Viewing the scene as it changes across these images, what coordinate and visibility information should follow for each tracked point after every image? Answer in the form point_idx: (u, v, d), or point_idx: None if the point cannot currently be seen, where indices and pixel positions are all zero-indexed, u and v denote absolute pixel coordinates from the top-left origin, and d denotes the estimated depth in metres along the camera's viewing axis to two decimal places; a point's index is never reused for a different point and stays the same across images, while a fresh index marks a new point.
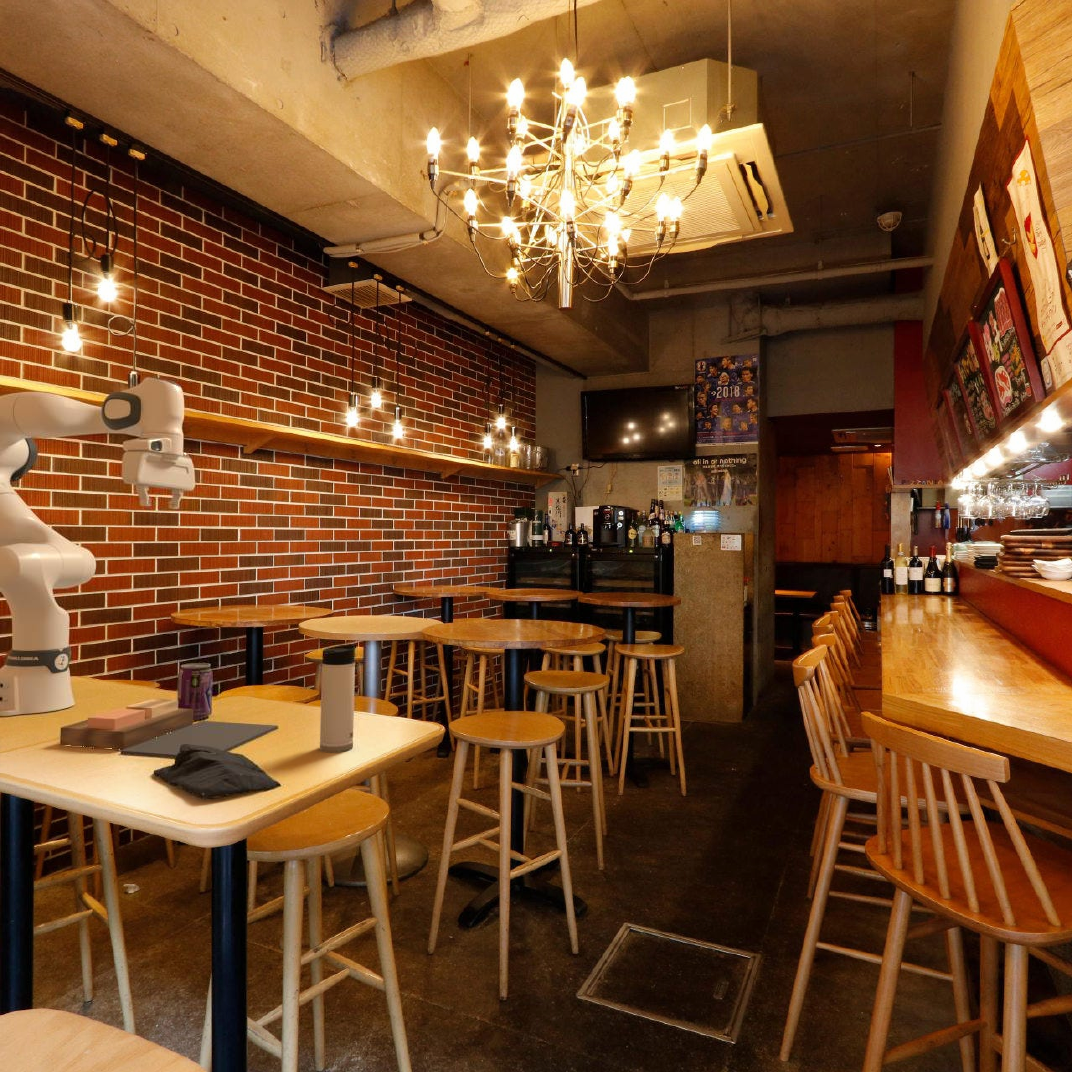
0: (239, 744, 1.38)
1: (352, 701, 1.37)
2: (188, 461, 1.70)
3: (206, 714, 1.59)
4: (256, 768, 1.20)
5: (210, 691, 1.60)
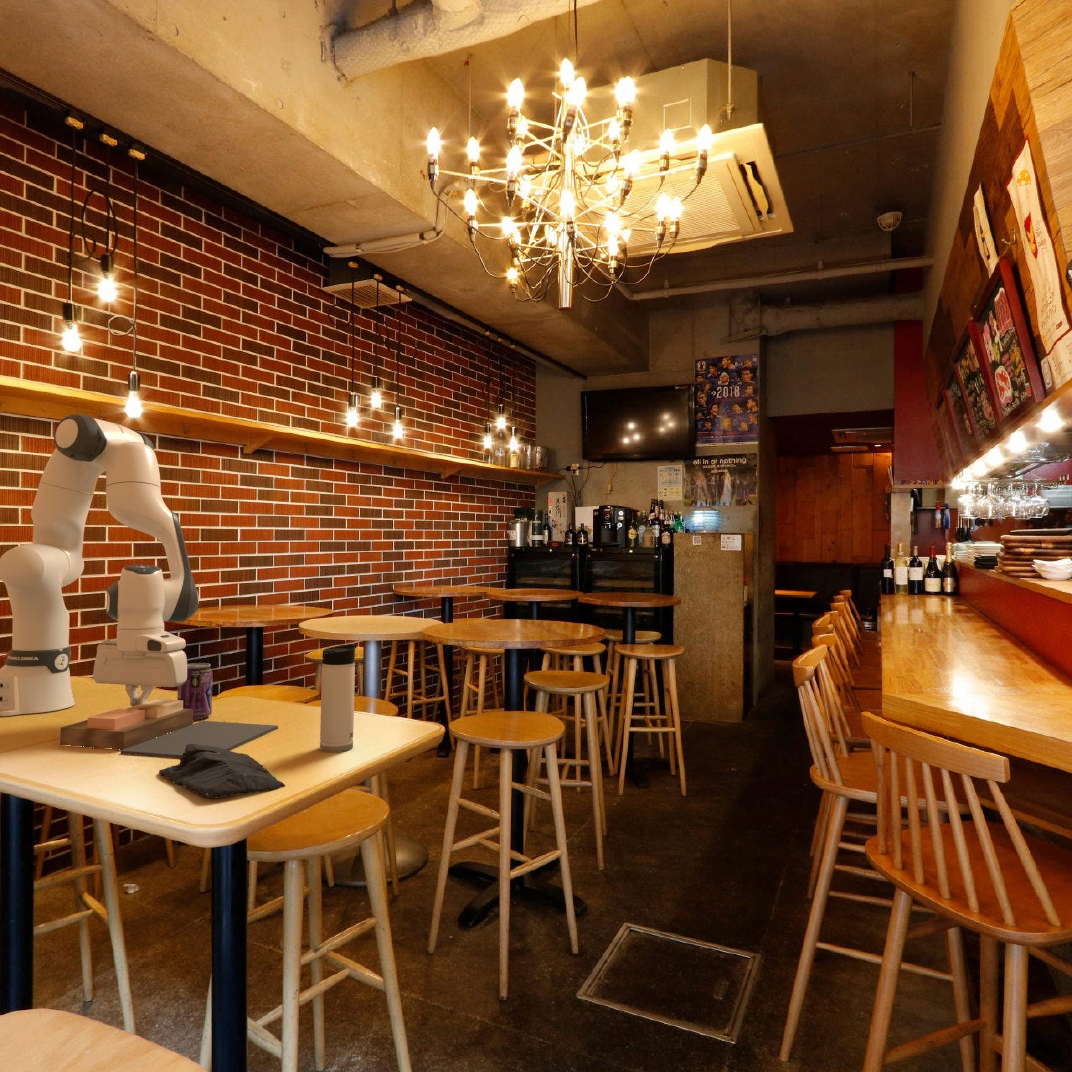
0: (239, 744, 1.38)
1: (352, 701, 1.37)
2: None
3: (206, 714, 1.59)
4: (261, 768, 1.21)
5: (210, 691, 1.60)
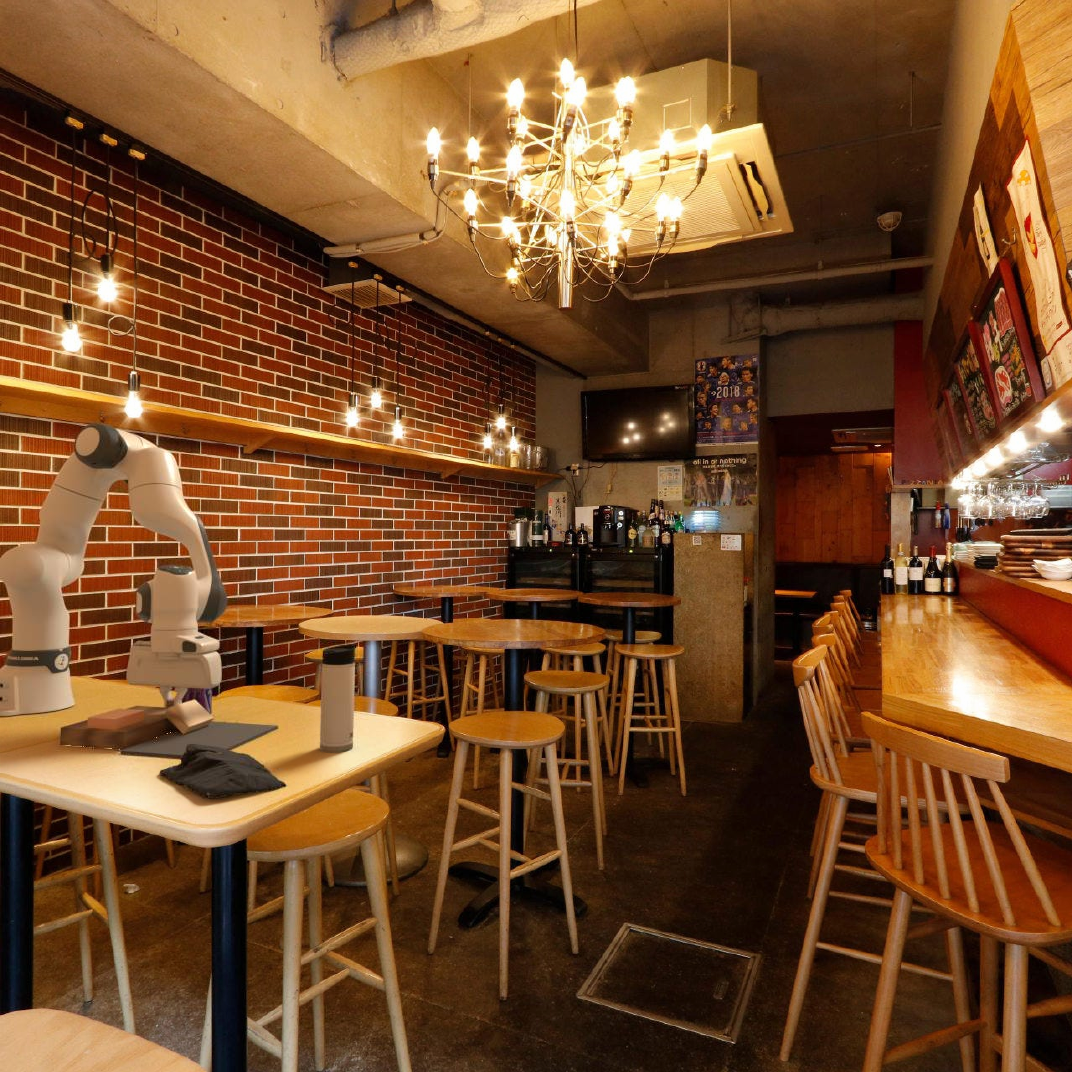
0: (239, 744, 1.38)
1: (352, 701, 1.37)
2: None
3: None
4: (262, 768, 1.21)
5: (210, 691, 1.60)
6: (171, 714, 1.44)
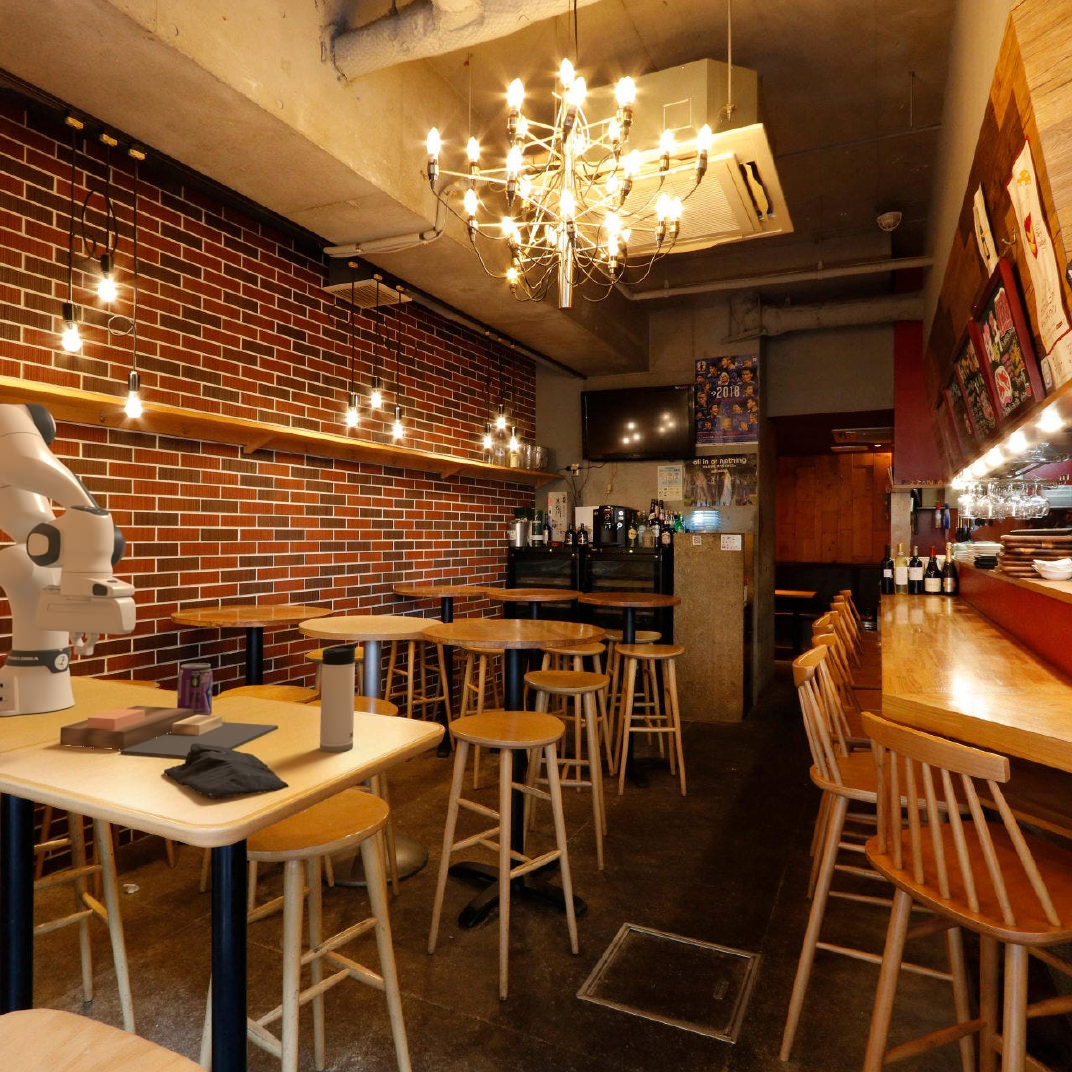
0: (239, 744, 1.38)
1: (352, 701, 1.37)
2: None
3: (206, 714, 1.59)
4: (265, 768, 1.20)
5: (210, 691, 1.60)
6: (178, 728, 1.44)
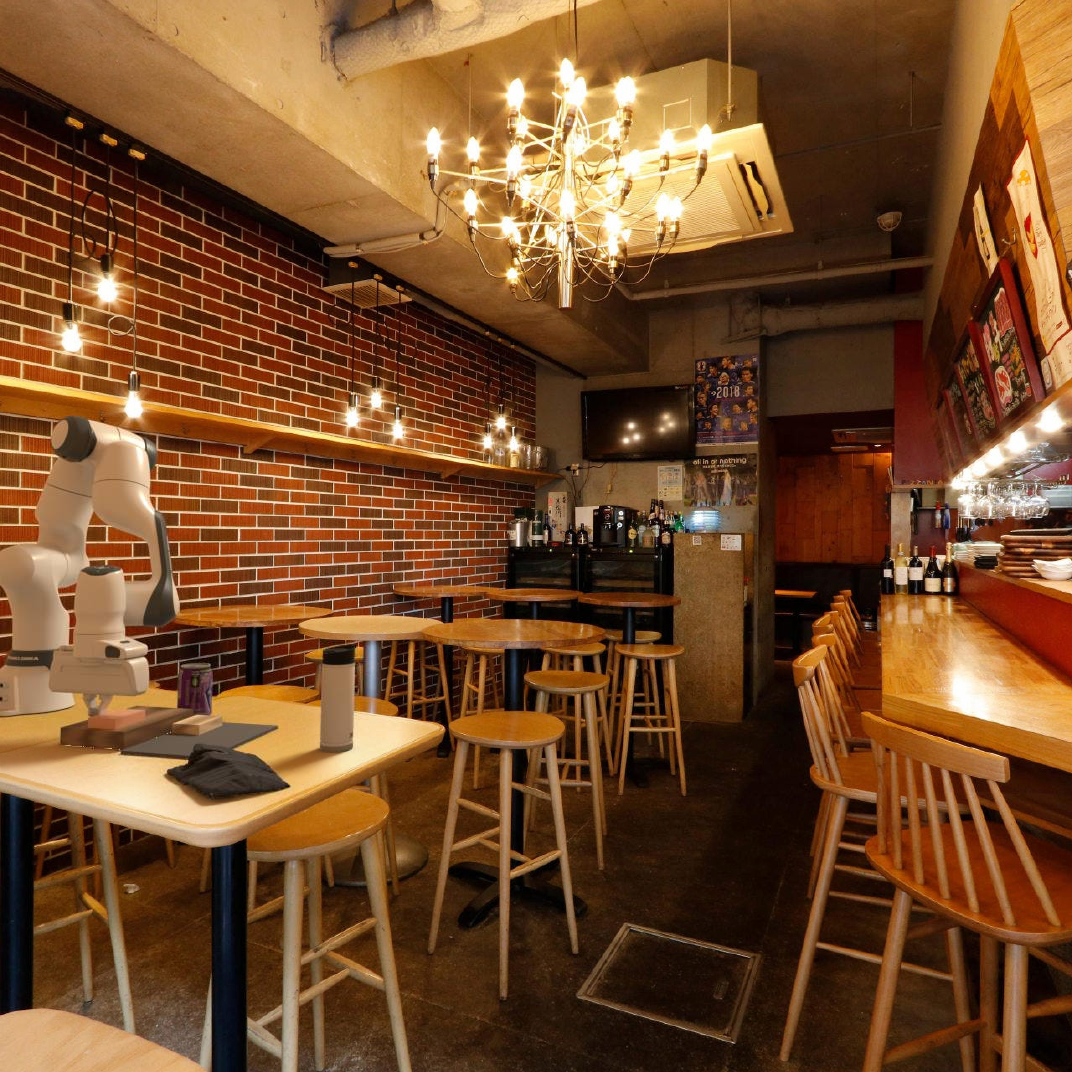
0: (239, 744, 1.38)
1: (352, 701, 1.37)
2: None
3: (206, 714, 1.59)
4: (267, 768, 1.20)
5: (210, 691, 1.60)
6: (178, 728, 1.44)
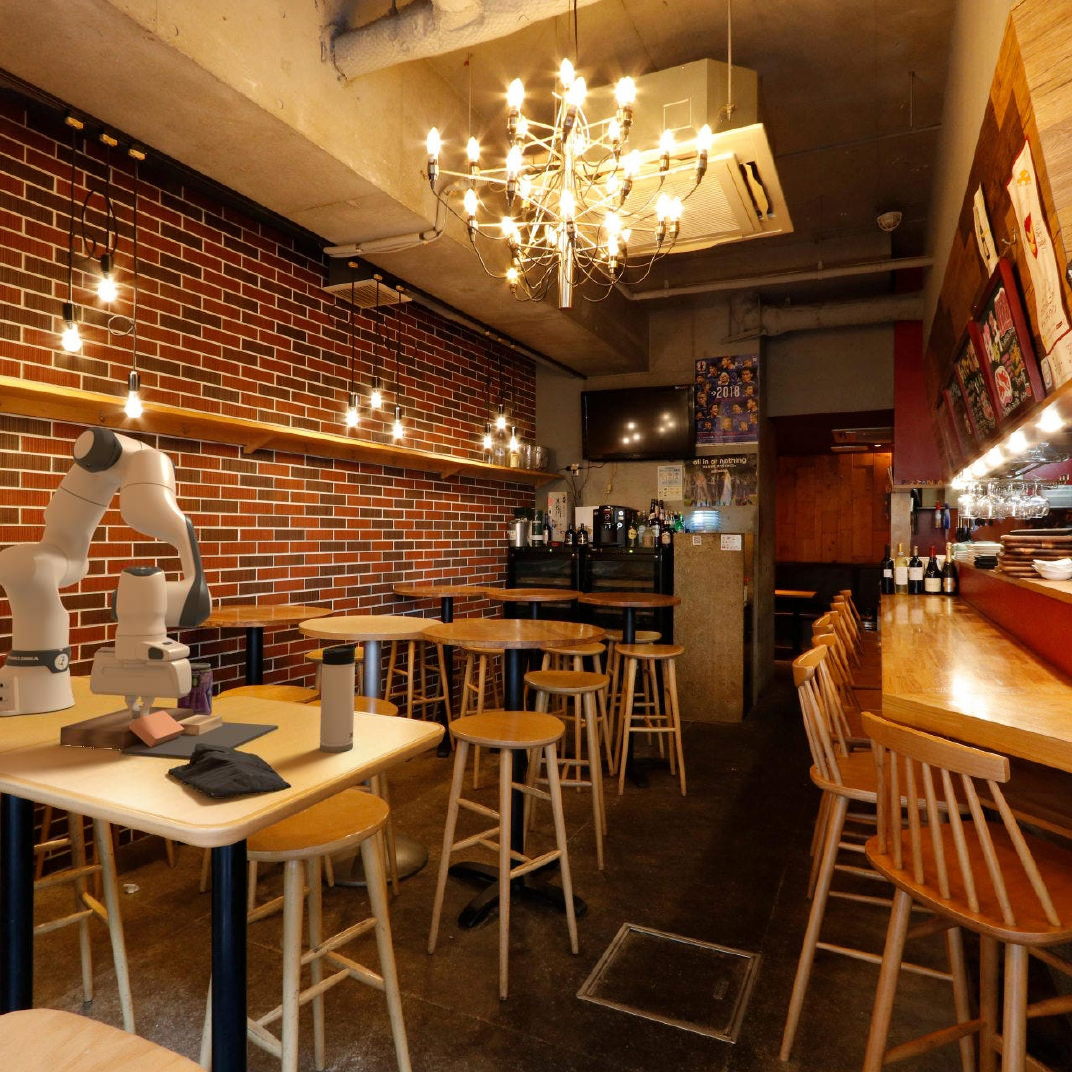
0: (239, 744, 1.38)
1: (352, 701, 1.37)
2: None
3: (206, 714, 1.59)
4: (268, 769, 1.20)
5: (210, 691, 1.60)
6: None
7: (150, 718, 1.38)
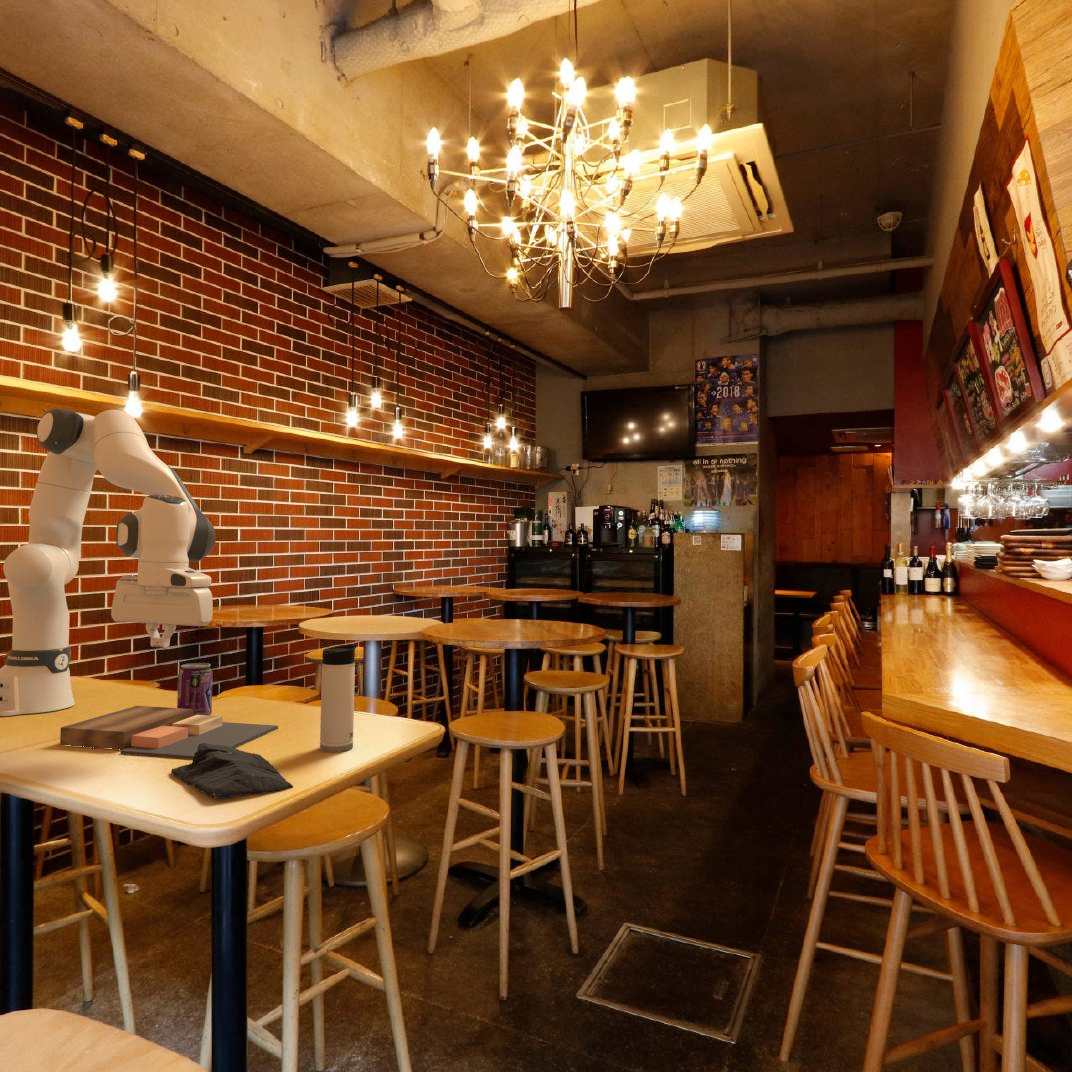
0: (239, 744, 1.38)
1: (352, 701, 1.37)
2: None
3: (206, 714, 1.59)
4: (270, 769, 1.20)
5: (210, 691, 1.60)
6: None
7: (149, 731, 1.38)
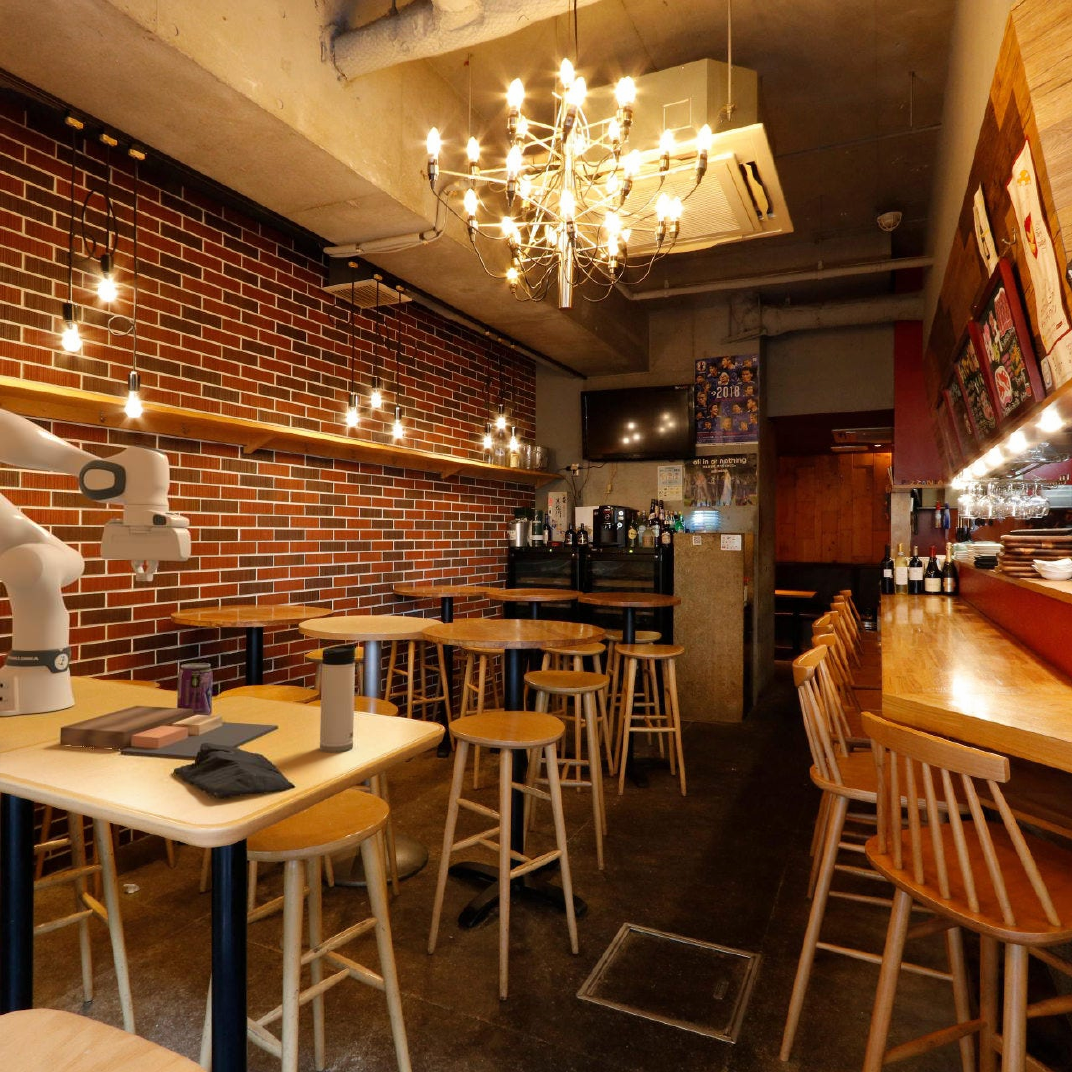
0: (239, 744, 1.38)
1: (352, 701, 1.37)
2: None
3: (206, 714, 1.59)
4: (273, 769, 1.20)
5: (210, 691, 1.60)
6: None
7: (149, 731, 1.38)
